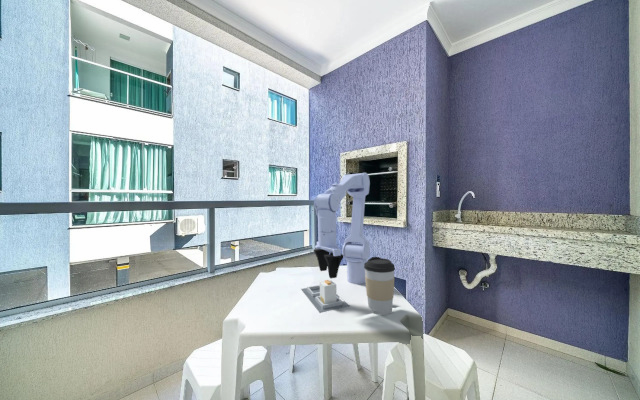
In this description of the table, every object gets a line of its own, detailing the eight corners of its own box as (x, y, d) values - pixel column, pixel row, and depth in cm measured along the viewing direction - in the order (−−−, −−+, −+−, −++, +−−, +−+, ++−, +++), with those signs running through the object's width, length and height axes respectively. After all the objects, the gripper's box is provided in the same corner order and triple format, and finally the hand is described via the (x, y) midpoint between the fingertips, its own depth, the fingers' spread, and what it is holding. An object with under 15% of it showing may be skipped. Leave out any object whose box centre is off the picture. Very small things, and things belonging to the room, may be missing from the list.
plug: (331, 298, 73) (330, 278, 73) (336, 303, 69) (336, 282, 69) (320, 300, 71) (319, 280, 71) (324, 306, 67) (324, 284, 67)
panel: (325, 286, 85) (325, 282, 85) (350, 308, 67) (350, 302, 67) (300, 291, 81) (300, 286, 81) (319, 315, 64) (319, 309, 64)
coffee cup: (401, 315, 63) (400, 262, 63) (371, 318, 61) (370, 264, 61) (387, 301, 72) (386, 255, 72) (360, 304, 70) (359, 256, 70)
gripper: (308, 229, 76) (308, 269, 75) (324, 235, 62) (325, 283, 62) (326, 228, 78) (327, 266, 78) (346, 233, 65) (347, 279, 65)
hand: (328, 273), depth 70 cm, fingers open, 7 cm apart
